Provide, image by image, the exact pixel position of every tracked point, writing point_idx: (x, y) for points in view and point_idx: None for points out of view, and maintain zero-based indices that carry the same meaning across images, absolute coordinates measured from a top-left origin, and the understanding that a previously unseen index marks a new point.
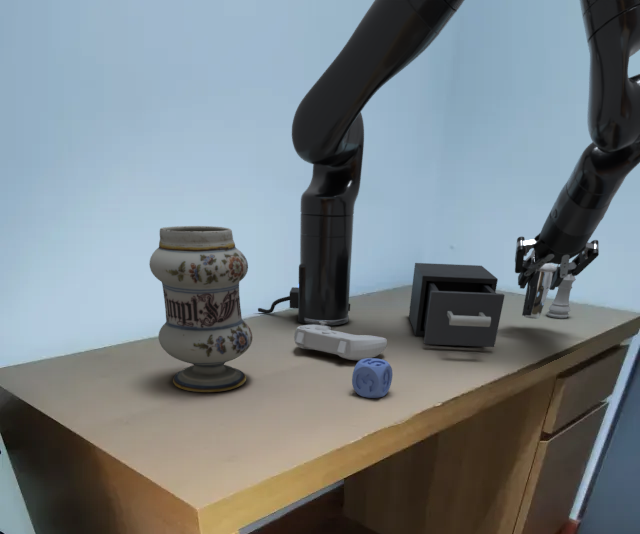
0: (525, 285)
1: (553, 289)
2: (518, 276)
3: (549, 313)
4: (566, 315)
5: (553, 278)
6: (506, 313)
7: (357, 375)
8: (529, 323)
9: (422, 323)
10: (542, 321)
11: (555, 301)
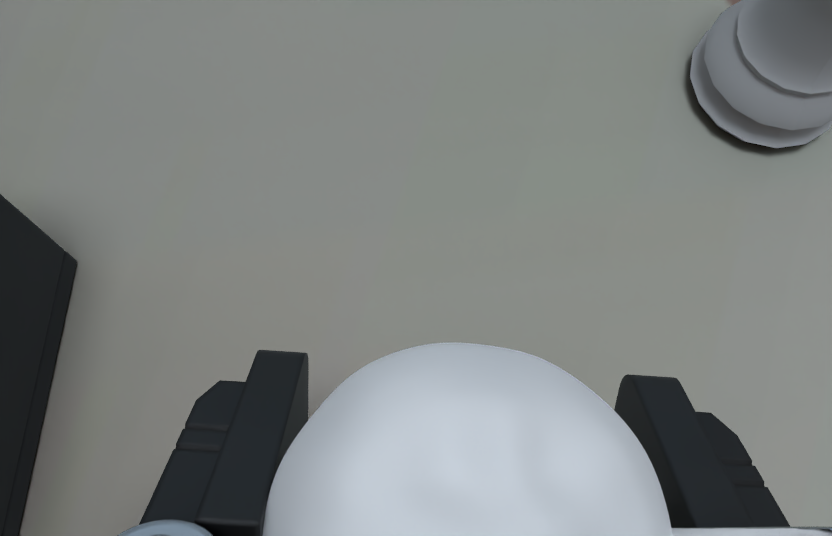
0: None
1: None
2: (194, 413)
3: (702, 90)
4: (815, 133)
5: None
6: (413, 38)
7: None
8: (497, 313)
9: None
10: (614, 240)
11: (760, 43)
